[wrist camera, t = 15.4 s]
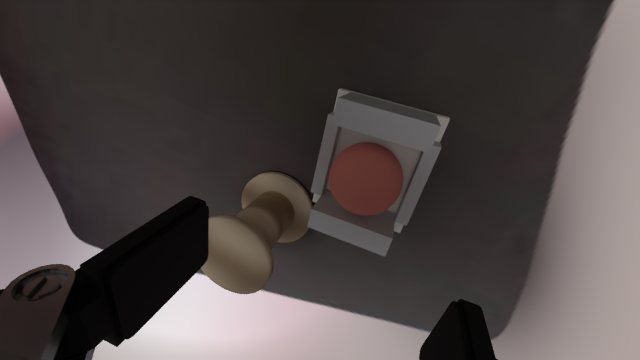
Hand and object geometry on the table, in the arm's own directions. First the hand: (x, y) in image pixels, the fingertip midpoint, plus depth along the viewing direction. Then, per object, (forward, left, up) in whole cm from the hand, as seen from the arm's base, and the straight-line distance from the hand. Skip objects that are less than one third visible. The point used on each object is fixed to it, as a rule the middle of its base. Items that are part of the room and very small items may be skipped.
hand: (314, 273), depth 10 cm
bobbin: (+9, -8, -15) cm, 19 cm away
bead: (+1, 0, -14) cm, 14 cm away
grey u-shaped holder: (+1, 0, -15) cm, 15 cm away
